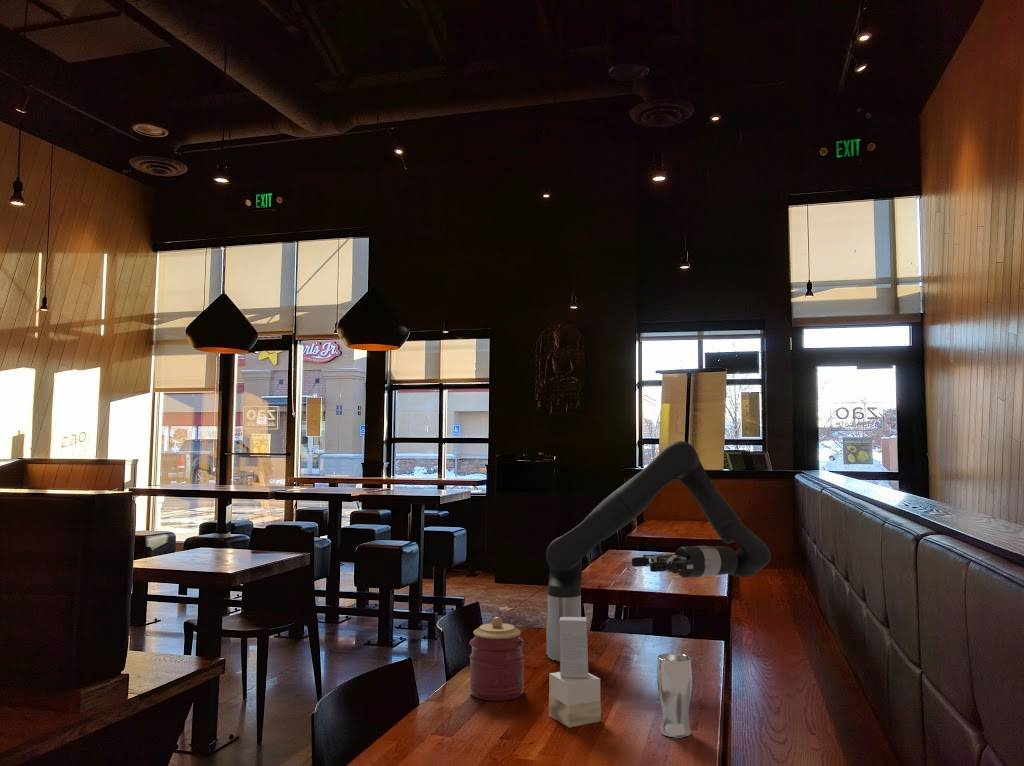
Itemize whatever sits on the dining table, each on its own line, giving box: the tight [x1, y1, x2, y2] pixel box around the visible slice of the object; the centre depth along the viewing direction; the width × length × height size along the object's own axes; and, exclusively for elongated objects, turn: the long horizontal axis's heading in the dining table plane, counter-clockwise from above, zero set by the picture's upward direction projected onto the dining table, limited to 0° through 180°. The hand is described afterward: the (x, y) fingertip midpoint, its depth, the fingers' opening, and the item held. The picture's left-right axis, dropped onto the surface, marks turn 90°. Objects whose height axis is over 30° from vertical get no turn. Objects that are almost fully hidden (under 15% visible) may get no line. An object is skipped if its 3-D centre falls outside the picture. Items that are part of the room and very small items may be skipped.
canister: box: [468, 616, 525, 702], centre depth 179 cm, size 13×13×18 cm
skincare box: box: [559, 616, 589, 678], centre depth 163 cm, size 6×4×12 cm
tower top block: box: [548, 671, 601, 706], centre depth 162 cm, size 8×8×4 cm
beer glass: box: [656, 652, 693, 739], centre depth 154 cm, size 7×7×15 cm
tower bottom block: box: [548, 695, 602, 728], centre depth 161 cm, size 8×8×4 cm
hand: (641, 564), depth 182 cm, fingers open, 8 cm apart
